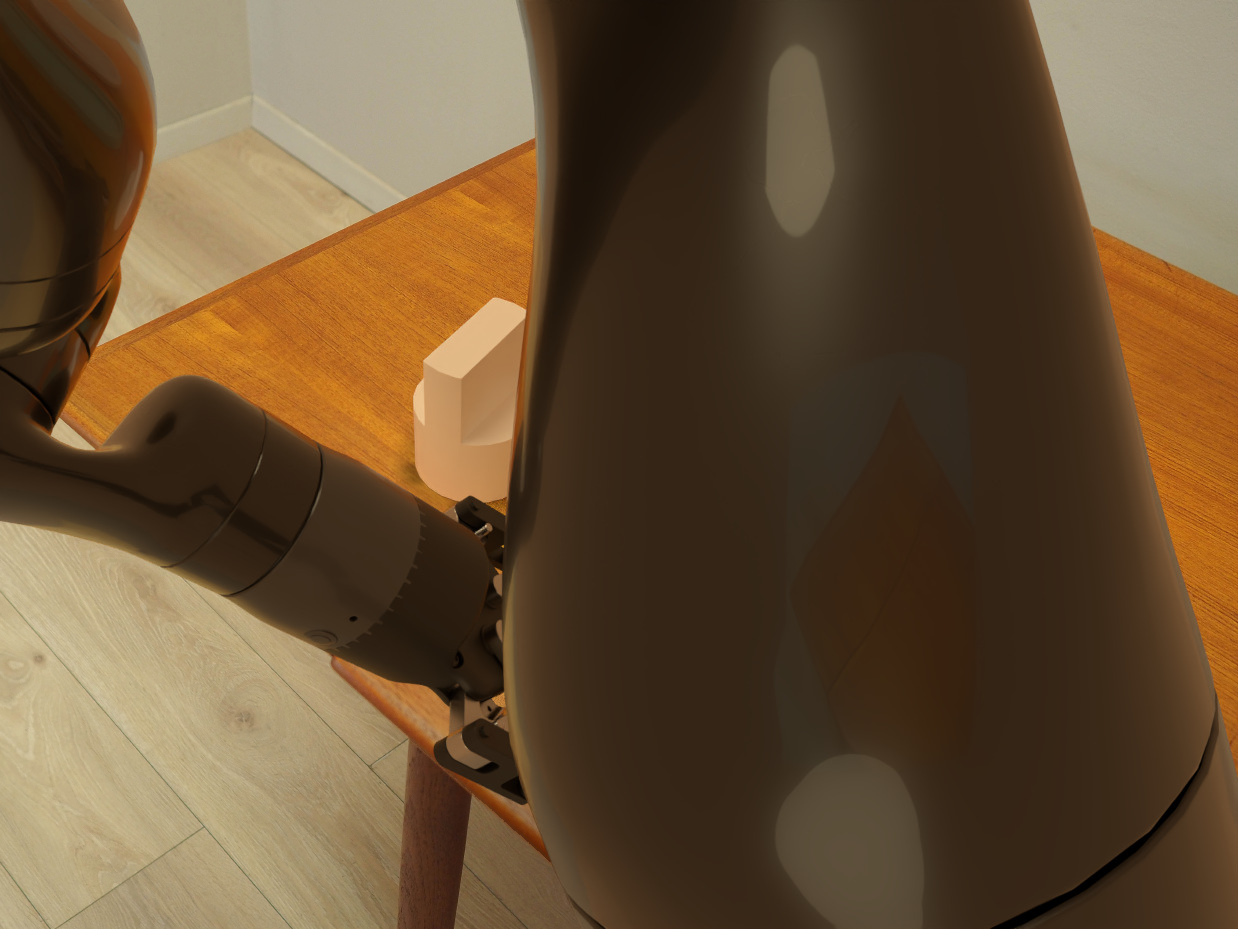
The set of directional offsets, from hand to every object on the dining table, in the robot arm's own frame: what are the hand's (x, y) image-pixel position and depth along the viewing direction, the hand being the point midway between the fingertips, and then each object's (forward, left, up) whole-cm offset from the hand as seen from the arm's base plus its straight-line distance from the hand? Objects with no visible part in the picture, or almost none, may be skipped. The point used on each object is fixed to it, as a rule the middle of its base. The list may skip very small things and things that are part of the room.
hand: (594, 693), depth 54 cm
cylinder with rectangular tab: (+28, +3, -11) cm, 30 cm away
